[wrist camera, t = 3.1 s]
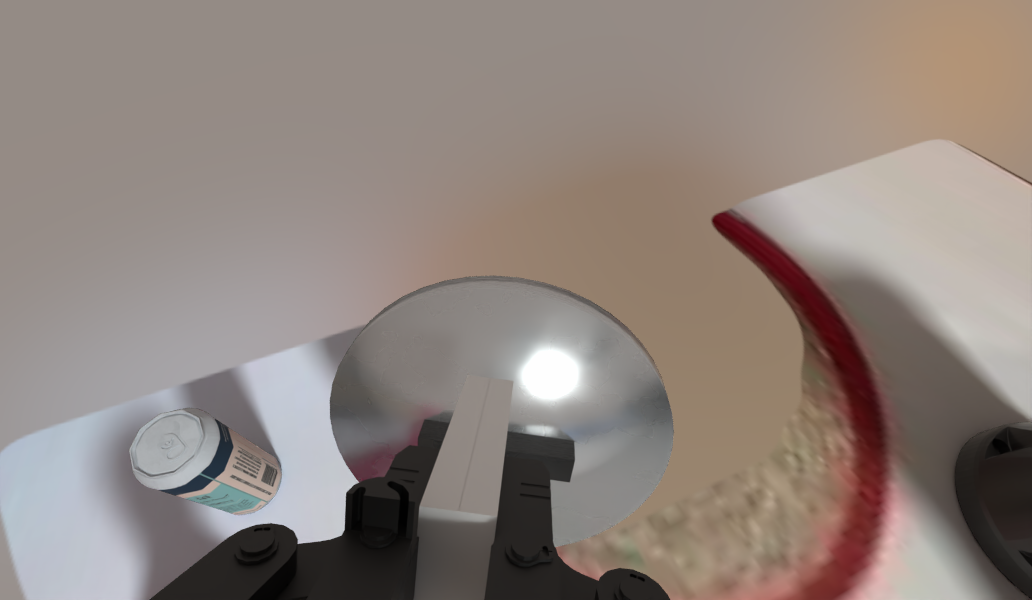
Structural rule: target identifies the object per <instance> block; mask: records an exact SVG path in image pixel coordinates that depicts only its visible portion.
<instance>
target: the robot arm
mask: <svg viewBox="0 0 1032 600" xmlns="http://www.w3.org/2000/svg"><path fill="white" fill-rule="evenodd" d="M512 389H513V381H510V380H502V379H495V378H487V377H479V376H471V375H467V378H466V380H465V383H464V386H463V389H462V391H461V394H460V397H459V400H458V402H457V405H456V408H455V410H454V413H453V416H452V419H451V421H450V424H449V427H448V430H447V432H446V435H445V438H444V441H443V443H442V446H441V449H436V448H428V447H421V446H413V445H409V446H407V447H406V448H405V449H403V450H402V451H400V452H399V453H398V454H396V456H395V458H394V460H393V461H392V463H391V465H390V468H389V469H388V471H387V473H386V475H385V477H375V478H370V479H366V480H363V481H361V482H359V483H357V484H355V485H354V486H353V487H352V488H351V489H350V490H349V491H348V492H347V493H346V512H345V530H344V532H343V534H342V536H339V537H337V538H334V539H331V540H326V541H320V542H312V543H303V544H298V539H297V537H296V535H295V533H294V531H292V530H291V529H289V528H287V527H286V526H284V525H278V524H272V523H270V524H260V525H255V526H252V527H249V528H245V529H242V530H240V531H239V532H237V533H235V534H234V535H232V536H230V537H229V538H227V539H226V540H225V541H223V542H222V543H221V544H219V545H218V546H217V547H216V548H214V549H213V550H212V551H211V552H209V553H208V554H207V555H206V556H204V557H203V558H202V559H200V560H199V561H198V562H197V563H195V564H194V565H193V566H192V567H190V568H189V569H188V570H186V571H185V572H184V573H183V574H181V575H180V576H179V577H178V578H176V579H175V580H174V581H173V582H171V583H170V584H169V585H167V586H166V587H165V588H164V589H162V590H161V591H160V592H159V593H157V594H156V595H155V596H153V597H152V598H151V599H150V600H670V598H669V596H668V595H667V594H666V592H665V591H664V590H663V589H662V587H661V586H660V585H659V584H658V583H657V582H655V581H654V580H653V579H651V578H650V577H648V576H647V575H645V574H643V573H640V572H637V571H635V570H632V569H622V568H618V569H614V570H610V571H607V572H606V573H605V574H604V575H602V576H601V577H600V579H599V581H597V580H595V579H592V578H590V577H588V576H585V575H583V574H581V573H579V572H577V571H575V570H573V569H572V568H570V567H569V566H568V565H567V564H565V563H564V562H563V560H562V559H561V558H560V557H559V556H558V554H557V551H556V548H555V547H554V543H553V527H552V505H551V489H550V488H551V483H550V472H549V471H548V470H547V468H546V467H545V465H544V464H543V462H542V461H539V460H531V459H524V458H516V457H508V456H505V448H506V439H507V431H508V423H509V414H510V406H511V398H512ZM955 481H956V489H957V495H958V499H959V502H960V506H961V509H962V511H963V514H964V516H965V519H966V521H967V523H968V525H969V527H970V529H971V531H972V533H973V534H974V536H975V538H976V539H977V541H978V542H979V544H980V546H981V547H982V548H983V550H984V551H985V553H986V554H987V555H988V557H989V558H990V559H991V560H992V562H993V563H994V564H995V565H996V566H997V567H998V569H999V570H1000V571H1001V572H1002V573H1003V574H1004V575H1005V576H1006V577H1007V578H1008V579H1009V580H1010V581H1011V582H1012V583H1013V584H1014V585H1016V586H1017V587H1018V588H1019V589H1020V590H1021V591H1022V592H1024V593H1025V594H1026V595H1027V596H1029V597H1030V598H1031V599H1032V422H1020V423H1012V424H1007V425H1003V426H1000V427H997V428H994V429H991V430H988V431H985V432H982V433H980V434H978V435H976V436H974V437H973V438H972V439H970V440H969V441H968V442H967V443H966V444H965V446H964V447H963V449H962V450H961V452H960V454H959V457H958V460H957V464H956V472H955Z"/></svg>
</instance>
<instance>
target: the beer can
mask: <svg viewBox="0 0 1032 600" xmlns="http://www.w3.org/2000/svg"><path fill="white" fill-rule="evenodd" d="M129 452H130V457H131V464H132V471H133V473H134V475H135V477H136V479H137V480H138V481H139V482H140V483H141V484H143V485H145V486H147V487H149V488H152V489H156V490H160V491H163V492H166V493H169V494H172V495H175V496H179V497H182V498H185V499H188V500H191V501H194V502H198V503H201V504H204V505H207V506H210V507H213V508H217V509H220V510H223V511H226V512H229V513H231V514H235V515H246V514H251V513H254V512H256V511H258V510H260V509H262V508H263V507H264V506H265V505H267V504H268V503H269V502H270V501H271V500H272V499H273V497H274V496H275V494H276V493H277V491H278V489H279V486H280V483H281V478H282V472H281V467H280V464H279V462H278V461H277V459H276V458H275V457H274V456H273V455H271V454H269V453H267V452H265V451H264V450H262V449H261V448H259V447H258V446H256V445H255V444H253V443H252V442H250V441H248V440H247V439H245V438H244V437H242V436H241V435H239V434H238V433H236V432H235V431H233V430H231V429H230V428H228V427H227V426H225V425H224V424H222V423H221V422H219V421H218V420H216V419H214V418H213V417H212V416H211V415H210V414H208V413H207V412H204V411H202V410H199V409H194V408H185V409H179V410H175V411H171V412H166V413H161V414H159V415H158V416H156V417H155V418H154V419H152V420H151V421H150V422H148V423H147V424H146V425H144V426H143V427H142V428H140V429H139V431H138V433H137V435H136V437H135V439H134V441H133V443H132V445H131V447H130V449H129Z"/></svg>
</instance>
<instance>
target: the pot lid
mask: <svg viewBox="0 0 1032 600" xmlns="http://www.w3.org/2000/svg"><path fill="white" fill-rule="evenodd" d="M467 375H471V376H479V377H487V378H495V379H502V380H510V381H513V389H512V398H511V406H510V414H509V423H508V431H507V439H506V448H505V456H508V457H516V458H524V459H531V460H539V461H542V462H543V464H544V465H545V467H546V468H547V470H548V471H549V472H550V483H551V488H550V489H551V505H552V527H553V543H554V547H557V546H562V545H566V544H570V543H574V542H578V541H581V540H584V539H586V538H589V537H592V536H595V535H597V534H599V533H601V532H603V531H605V530H607V529H609V528H611V527H613V526H614V525H616V524H618V523H619V522H621V521H622V520H624V519H625V518H627V517H628V516H629V515H630V514H632V513H633V512H634V511H635V510H637V509H638V508H639V507H640V506H641V505H642V504H643V503H644V502H645V501H646V499H647V498H648V497H649V496H650V495H651V494H652V492H653V491H654V489H655V488H656V486H657V485H658V484H659V482H660V480H661V478H662V476H663V474H664V472H665V470H666V467H667V466H668V462H669V458H670V455H671V451H672V445H673V433H674V430H673V419H672V412H671V408H670V404H669V401H668V397H667V394H666V390H665V387H664V383H663V380H662V377H661V375H660V373H659V371H658V369H657V366H656V365H655V362H654V360H653V359H652V357H651V356H650V354H649V353H648V351H647V350H646V348H645V347H644V345H643V344H642V343H641V342H640V340H639V339H638V338H637V337H636V336H635V335H634V334H633V333H632V332H631V331H630V330H629V328H628V327H626V326H625V325H624V324H623V323H622V322H620V321H619V320H618V319H617V318H615V317H614V316H613V315H612V314H611V313H609V312H607V311H606V310H604V309H602V308H601V307H600V306H598V305H596V304H595V303H593V302H592V301H590V300H588V299H586V298H584V297H581V296H579V295H577V294H575V293H573V292H571V291H568V290H566V289H562V288H559V287H556V286H553V285H550V284H547V283H543V282H539V281H534V280H528V279H523V278H517V277H503V276H478V277H477V276H476V277H465V278H459V279H453V280H447V281H443V282H439V283H436V284H433V285H429V286H426V287H423V288H421V289H419V290H416V291H414V292H412V293H410V294H408V295H405V296H403V297H401V298H400V299H398V300H397V301H395V302H394V303H392V304H390V305H389V306H388V307H386V308H384V309H383V310H382V311H381V312H380V313H379V314H378V315H376V316H375V318H373V319H372V320H371V321H370V322H369V323H368V324H367V325H366V327H365V328H364V329H363V330H362V331H361V333H360V334H359V335H358V336H357V338H356V339H355V341H354V342H353V344H352V345H351V347H350V348H349V350H348V351H347V353H346V355H345V356H344V358H343V360H342V362H341V363H340V365H339V367H338V370H337V373H336V375H335V378H334V381H333V385H332V391H331V397H330V419H331V425H332V430H333V435H334V438H335V440H336V443H337V446H338V449H339V451H340V453H341V455H342V457H343V459H344V461H345V463H346V465H347V466H348V468H349V469H350V471H351V472H352V473H353V475H354V476H355V478H356V479H357V480H358V481H359V482H361V481H363V480H366V479H370V478H375V477H385V475H386V473H387V471H388V469H389V468H390V465H391V463H392V461H393V460H394V458H395V456H396V454H398V453H399V452H400V451H402V450H403V449H405V448H406V447H407V446H409V445H413V446H421V447H428V448H436V449H441V446H442V443H443V441H444V438H445V435H446V432H447V430H448V427H449V424H450V421H451V419H452V416H453V413H454V410H455V408H456V405H457V402H458V400H459V397H460V394H461V391H462V389H463V386H464V383H465V380H466V378H467Z"/></svg>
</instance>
